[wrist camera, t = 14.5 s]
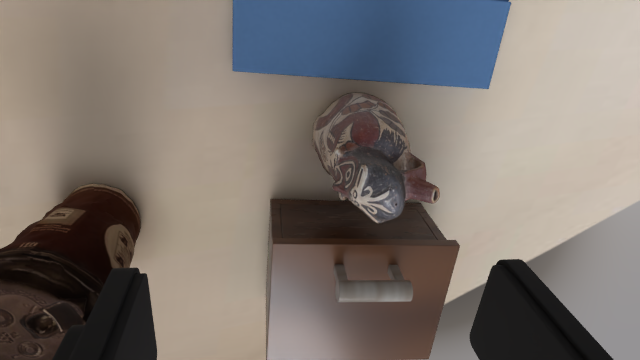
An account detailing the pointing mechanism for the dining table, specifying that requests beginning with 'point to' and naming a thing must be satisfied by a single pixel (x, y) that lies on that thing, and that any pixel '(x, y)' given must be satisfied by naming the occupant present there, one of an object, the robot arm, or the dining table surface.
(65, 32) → the dining table surface
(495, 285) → the robot arm
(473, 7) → the dish cloth
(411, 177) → the figurine
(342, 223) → the bin
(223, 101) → the dining table surface
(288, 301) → the bread bin lid
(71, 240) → the coffee cup
